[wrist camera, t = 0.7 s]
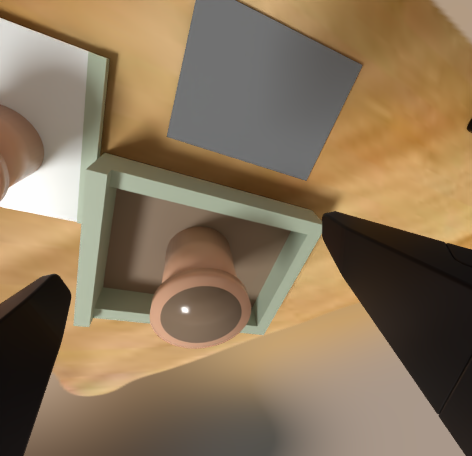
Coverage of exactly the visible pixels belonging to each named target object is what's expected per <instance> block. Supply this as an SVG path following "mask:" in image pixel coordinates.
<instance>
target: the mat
mask: <svg viewBox="0 0 472 456" xmlns="http://www.w3.org/2000/svg"><path fill="white" fill-rule="evenodd" d="M362 66H363V65H361V64H359V63H357V62H355V61H353V60H351V59H349V58H347V57H345V56H343V55H341V54H339V53H338V52H336V51H334V50H332V49H330V48H328V47H326V46H324V45H322V44H320V43H318V42H316V41H314V40H312V39H310V38H308V37H306V36H304V35H302V34H300V33H298V32H296V31H294V30H292V29H290V28H289V27H287V26H285V25H283V24H281V23H279V22H277V21H275V20H273V19H271V18H269V17H267V16H265V15H263V14H261V13H259V12H257V11H255V10H253V9H251V8H249V7H247V6H245V5H243V4H241V3H240V2H238V1H236V0H196V2H195V6H194V11H193V16H192V21H191V25H190V30H189V35H188V39H187V44H186V49H185V54H184V58H183V63H182V68H181V72H180V77H179V82H178V86H177V91H176V96H175V101H174V105H173V110H172V115H171V119H170V124H169V129H168V133H167V137H169V138H172V139H175V140H179V141H182V142H185V143H188V144H191V145H195V146H198V147H201V148H204V149H207V150H210V151H214V152H217V153H220V154H223V155H226V156H229V157H233V158H236V159H239V160H242V161H245V162H248V163H252V164H255V165H258V166H261V167H264V168H267V169H271V170H274V171H277V172H280V173H283V174H286V175H290V176H293V177H296V178H299V179H302V180H307V178H308V176H309V174H310V172H311V170H312V168H313V166H314V164H315V162H316V160H317V158H318V156H319V154H320V152H321V150H322V148H323V146H324V144H325V141H326V139H327V137H328V135H329V133H330V131H331V129H332V127H333V125H334V123H335V121H336V119H337V117H338V115H339V113H340V111H341V109H342V107H343V105H344V103H345V101H346V98H347V96H348V94H349V92H350V90H351V88H352V86H353V84H354V82H355V80H356V78H357V76H358V74H359V72H360V70H361V68H362Z"/></svg>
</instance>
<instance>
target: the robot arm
mask: <svg viewBox="0 0 472 456" xmlns="http://www.w3.org/2000/svg"><path fill="white" fill-rule="evenodd" d="M467 130H468V131H469V132H471V133H472V120H471V122H470V123H469V125H468V127H467ZM322 237H323V240H324V242H325V244H326V246H327V248H328V250H329V252H330V254H331V256H332V258H333V260H334V261H335V263H336V265H337V267H338V269H339V271H340V273H341V274H342V276H343V278H344V279H345V281H346V282H347V284H348V285H349V286H350V288H351V289H352V291H353V292H354V294H355V295H356V297H357V298H358V299H359V301H360V302H361V304H362V305H363V307H364V308H365V310H366V311H367V313H368V314H369V315H370V317H371V318H372V320H373V321H374V323H375V324H376V326H377V327H378V329H379V330H380V331H381V333H382V334H383V336H384V337H385V339H386V340H387V342H388V343H389V344H390V346H391V347H392V349H393V350H394V352H395V353H396V355H397V356H398V358H399V359H400V360H401V362H402V363H403V365H404V366H405V368H406V369H407V371H408V372H409V374H410V375H411V376H412V378H413V379H414V381H415V382H416V384H417V385H418V387H419V388H420V390H421V391H422V392H423V394H424V395H425V397H426V398H427V400H428V401H429V403H430V404H431V405H432V407H433V408H434V410H435V411H436V413H437V414H439V417H440V419H441V420H442V422H443V423H444V425H445V426H446V428H447V429H448V430H449V432H450V433H451V435H452V436H453V438H454V439H455V441H456V442H457V444H458V445H459V446H460V448H461V449H462V450H463V452H464V454H465V455H466V456H472V250H471V249H467V248H464V247H460V246H457V245H453V244H450V243H447V244H446V243H445V242H442V241H439V240H435V239H432V238H428V237H425V236H421V235H417V234H414V233H410V232H407V231H403V230H400V229H396V228H393V227H389V226H386V225H382V224H379V223H375V222H372V221H368V220H365V219H361V218H357V217H354V216H350V215H347V214H343V213H340V212H336V211H333V212H329V213H325V214H324V215H323V217H322ZM70 302H71V293H70V290H69V289H68V288H67V286H66V285H65V283H64V282H63V280H62V279H61V278H60V276H59V275H57V274H51V275H46V276H42V277H40V278H39V279H37V280H36V281H34V282H33V283H31V284H30V285H28V286H27V287H25V288H24V289H22V290H20V291H19V292H17V293H16V294H14V295H13V296H11V297H10V298H8V299H7V300H5V301H4V302H2V303H1V304H0V456H24V453H25V450H26V447H27V444H28V441H29V438H30V435H31V432H32V429H33V426H34V423H35V420H36V417H37V414H38V411H39V408H40V405H41V402H42V399H43V396H44V393H45V390H46V387H47V384H48V381H49V378H50V375H51V372H52V369H53V366H54V363H55V360H56V357H57V354H58V351H59V348H60V345H61V342H62V338H63V334H64V329H65V325H66V320H67V316H68V311H69V306H70Z"/></svg>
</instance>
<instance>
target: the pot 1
mask: <svg viewBox="0 0 472 456" xmlns="http://www.w3.org/2000/svg"><path fill="white" fill-rule="evenodd" d="M43 159H44V146H43V143H42V140H41V138H40V136H39V134H38V132H37V131H36V129H35V128H34V127H33V125H32V124H31V123H30V122H29V121H28V120H27V119H26V118H24V117H23V116H22V115H20V114H19V113H18V112H16V111H14V110H12V109H10V108H8V107H6V106H3V105H0V202H1V201H2V200H3V198H4V197H5V195H6V193H7V191H8V188H9V187H11V186H13V185H14V184H16V183H18V182H19V181H21V180H23V179H24V178H26V177H28V176H29V175H31V174H32V173H34V172H35V171H37V170H38V169H39V168H40V166H41V165H42V162H43Z"/></svg>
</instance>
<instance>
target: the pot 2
mask: <svg viewBox="0 0 472 456" xmlns="http://www.w3.org/2000/svg"><path fill="white" fill-rule="evenodd" d="M250 315H251V303H250V300H249V296H248V292H247V289H246V288H245V286H244V284H243V283H242V282H241V281H240V280H239V279H238V278H237V275H236V271H235V266H234V262H233V258H232V254H231V249H230V246H229V243H228V241H227V239H226V238H225V237H224V236H223V235H222V234H221V233H220V232H218V231H216V230H214V229H212V228H208V227H200V226H198V227H190V228H187V229H184V230H182V231H180V232H179V233H177V234H176V235H175V236H174V237H173V238H172V239H171V240H170V242H169V244H168V246H167V250H166V256H165V264H164V271H163V278H162V284H161V285H160V286H159V287H158V289H157V290H156V292H155V293H154V296H153V298H152V303H151V309H150V324H151V326H152V329H153V330H154V332H155V333H156V334H157V335H158V336H159V337H160V338H161V339H163V340H164V341H166V342H168V343H170V344H172V345H175V346H179V347H184V348H206V347H211V346H215V345H219V344H221V343H224V342H226V341H228V340H230V339H231V338H233V337H235V336H236V335H237V334H238V333H240V332H241V331H242V330H243V328H244V327H245V326H246V324H247V323H248V321H249V318H250Z"/></svg>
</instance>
